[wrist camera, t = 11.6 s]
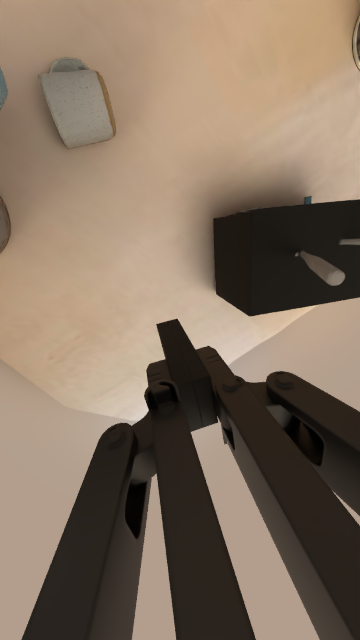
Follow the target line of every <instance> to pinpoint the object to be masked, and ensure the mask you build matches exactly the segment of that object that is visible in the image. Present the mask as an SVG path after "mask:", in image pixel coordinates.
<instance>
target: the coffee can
mask: <svg viewBox="0 0 360 640" xmlns="http://www.w3.org/2000/svg"><path fill="white" fill-rule="evenodd" d="M353 55H354V59H355V62H356V65H357V67H358V68H359V69H360V16H359V18H358V20H357V23H356V27H355V31H354V35H353Z"/></svg>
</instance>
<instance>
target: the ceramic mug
mask: <svg viewBox="0 0 360 640" xmlns="http://www.w3.org/2000/svg"><path fill="white" fill-rule="evenodd" d="M38 76H39V81H40V85H41V88H42V91H43V93H44V96H45V99H46V101H47V104H48V107H49V109H50V112H51V114H52V117H53V120H54V122H55V125H56V127H57V129H58V131H59V133H60V136H61V138H62V140H63V142H64V144H65V146H66V147H67V148H68V149H70V148H75V147H79V146H84V145H88V144H92V143H96V142H101V141H106V140H108V139H110V138H112V137H114V136H115V134H116V126H115V121H114V116H113V112H112V107H111V103H110V100H109V96H108V92H107V89H106V86H105V83H104V80H103V78H102V76H101V75H100V74H99V73H98V72H97V71H93V70H90V69H89V68H88V67H87V65H86V64H85V63H84V62H82V61H80V60H78V59H76V58H71V57H64V58H60V59H57V60H56V61H54V62H53V64H52V65H51V68H50V72H49V73H41V74H39V75H38Z"/></svg>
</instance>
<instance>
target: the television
mask: <svg viewBox="0 0 360 640" xmlns="http://www.w3.org/2000/svg"><path fill="white" fill-rule="evenodd" d="M213 226H214V256H215V281H216V294H217V295H218V296H220V297H221V298H223V299H224V300H226V301H227V302H228V303H230V304H232V305H233V306H235V307H236V308H237V309H239V310H241V311H242V312H244V313H245V314H247V315H248V316H255V315H261V314H267V313H272V312H279V311H285V310H290V309H296V308H302V307H308V306H313V305H319V304H325V303H330V302H336V301H341V300H347V299H353V298H358V297H360V200H347V201H336V202H325V203H314V204H305V205H294V206H283V207H271V208H263V209H260V208H253V209H248V210H247V211H246V210H244V211H239V212H237V213H236V214H233V215H229V216H226V217H221V218H214V219H213Z"/></svg>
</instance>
